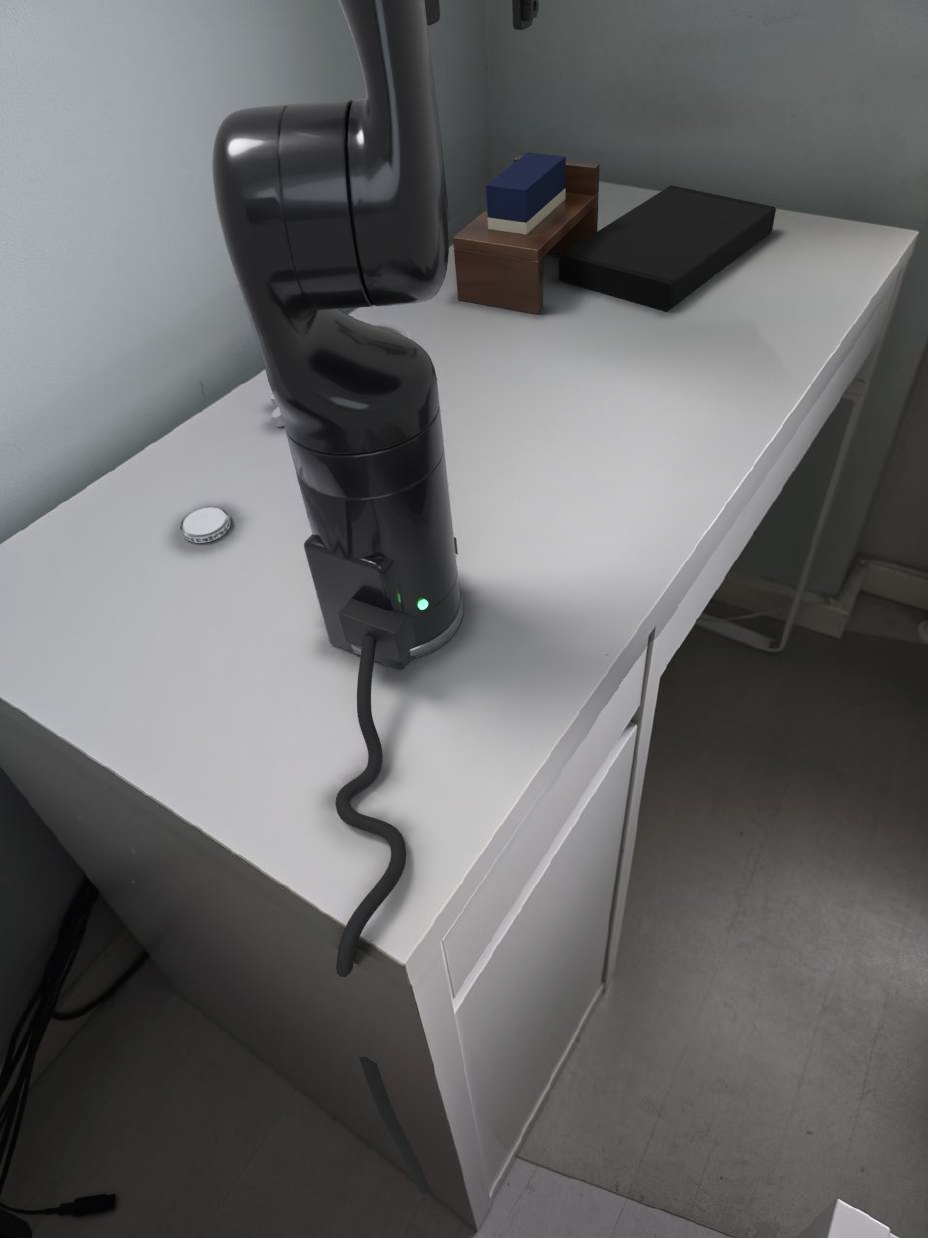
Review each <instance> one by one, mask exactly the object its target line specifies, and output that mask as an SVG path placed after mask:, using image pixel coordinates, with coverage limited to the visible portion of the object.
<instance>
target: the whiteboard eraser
mask: <svg viewBox="0 0 928 1238" xmlns="http://www.w3.org/2000/svg"><path fill="white" fill-rule="evenodd" d="M522 156H523V157H521V158H520V159H519V160H518V161H516V162H515V163H514V162H513V163H512V164H511V165H510V166H508V167H506V169H504V170H503V171H502V172H501V173H500V174H498V175H497V176H496V177H495V178H493V179H492V180H491V181H489V182H488V183H487V184H486V185H485V195H486V197H485V198H486V210H487V216H488V229H491V230H498V231H505V232H512V233H519V234H526V235H527V234H528V233H529V232H530V231H531V230H532V229H533V228H534V227H536V226H537V225H538V224H539V223H540V222H541V221H542V220H543V219H544V218H545V217H547V216H548V215H549V214H550V213H551V212H552V211H553V210H554V209H555V208H556V207H558V206H559V205H560V204H561V203H562V202H563V201H564V200H565V195H566V189H565V181H566V159H567V156H565V155H555V154H545V153H539V152H538V153H536V152H526V153H525V154H524V155H522Z"/></svg>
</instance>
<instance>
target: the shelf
mask: <svg viewBox="0 0 928 1238" xmlns="http://www.w3.org/2000/svg"><path fill="white" fill-rule="evenodd" d="M523 156H524V155H519V154H518V155H516V156H515V157H514V158H513V164H514V163H515V162H516V161H518V160H519V159H520V158H521V157H523ZM600 166H601V164H600V163H595V162H594V163H593V162H584V161H576V160H566V181H565V189H566V195H565V200H564V201H563V202H562V203H561V204H560V205H559V206H558V207H556V208H555V209H554V210H553V211H552V212H551V213H550V214H549V215H548V216H547V217H545V218H544V219H543V220H542V221H541V222H540V223H539V224H538V225H537V226H536V227H534V228H533V229H532V230H531V231H530V232H529V233H528V234H527V235H526V234H519V233H512V232H505V231H498V230H491V229H488V216H487V209H486V210H485V211H483V212H482V213H481V214H479V215H478V216H477V217H476V218H475V219H473V220H472V221H470V223H468V224H467V225H466V226H465V227H464V228H462V229H461V230H460V231H459V232H457V233H456V234H454V235H453V237H452V242H453V243H452V244H453V254H454V266H455V278H456V279H455V280H456V289H457V292H456V293H457V300H458V301H463V302H468V303H473V304H479V305H483V306H489V307H494V308H501V309H506V310H510V311H511V310H512V311H517V312H521V313H528V314H533V315H540V314H541V313H542V312H543V311H544V258H543V257H545V255H546V254H547V253H549V252H550V253H557V254H563V253H564V252H566V251H567V250H569V249H571V248H572V247H574V246H575V245H577V244H578V243H580V242H582V241H583V240H585V239H586V238H588V237H590V236H591V235H593V234H594V233H596V232H598V228H599V227H598V224H599V193H600Z"/></svg>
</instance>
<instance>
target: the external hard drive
mask: <svg viewBox="0 0 928 1238" xmlns="http://www.w3.org/2000/svg"><path fill="white" fill-rule="evenodd" d="M776 213H777V208H776V206H773V205H767V204H763V203H758V202H753V201H749V200H743V199H740V198H739V199H738V198H734V197H729V196H725V195H719V194H714V193H710V192H706V191H701V190H695V189H691V188H686V187H682V186H676V185H671V184H670V185H669V186H667V187H666V188H664V189H662V190H661V191H659V192H658V193H656V194H655V195H652V196H651V197H650V198H648V199H647V200H645V201H644V202H641V204H639V205H637V206H635V207H633V208H632V209H631V210H629V211H627V212H626V213H625V214H623V215H622V216H620V217H618V218H617V219H615V220H613V221H612V222H610V223H608V224H607V225H605V226H604V227H602V228H601V229H599V230H597V232H596V233H594V234H593V235H591V236H590V237H588V238H586V239H585V240H583V241H582V242H580V243H578V244H577V245H575V246H574V247H572V248H571V249H569V250H567V251H566V252H564V253H563V254H562V253H560V254H559V255H558V280H559V281H560V282H563V283H564V284H565V283H566V284H568V285H569V284H570V285H573V286H576V287H579V288H583V289H586V290H590V291H594V292H597V293H600V294H603V295H607V296H611V297H614V298H618V299H620V300H624V301H627V302H631V303H635V304H637V305H641V306H645V307H649V308H652V309H655V310H659V311H663V312H666V313H667V312H669V311H670V310H672V309H673V308H674V307H675V306H677V305H678V304H679V303H681V302H682V301H683V300H685V299H686V298H688V297H689V296H690V295H692V293H694V292H695V291H696V290H698V289H699V288H700V287H702V286H703V285H704V284H706V283H707V282H708V281H709V280H710V279H712V278H713V277H715V276H716V275H717V274H718V273H720V272H721V271H723V270H724V269H725V268H726V267H728V266H729V265H730V264H732V263H733V262H735V261H736V260H737V259H738V258H740V257H741V256H742V255H744V254H745V253H746V252H748V251H749V250H750V249H752V248H753V247H754V246H755V245H757V244H758V243H759V242H760V241H762V240H763V239H765V238H766V237H767V236H768V235H770V234H771V233H772V232H773V228H774V223H775V217H776Z"/></svg>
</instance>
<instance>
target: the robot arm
mask: <svg viewBox="0 0 928 1238" xmlns="http://www.w3.org/2000/svg"><path fill="white" fill-rule="evenodd" d="M337 2H338V5H339V6H340V8H341V11H342V13H343V16H344V18H345V21H346V23H347V26H348V29H349V32H350V35H351V37H352V38H351V39H352V41H353V44H354V48H355V50H356V53H357V57H358V60H359V64H360V68H361V74H362V78H363V81H364V88H365V89H364V90H365V97H362V98H355V99H341V100H329V101H328V100H326V101H316V102H302V103H288V104H287V103H286V104H277V105H265V106H255V107H248V108H247V107H246V108H242V109H238V110H235V111H233V112H232V113H230V114H228V115H227V116H226V117H225V118H224V119H223V121H222V122H221V123H220V125H219V126H218V128H217V132H216V134H215V137H214V141H213V150H212V159H211V172H212V184H213V195H214V202H215V205H216V211H217V215H218V221H219V224H220V229H221V233H222V237H223V240H224V244H225V247H226V250H227V254H228V257H229V260H230V264H231V267H232V270H233V273H234V276H235V280H236V282H237V285H238V286H237V287H238V288H239V293H240V294H241V298H242V301H243V303H244V307H245V309H246V312H247V316H248V318H249V321H250V324H251V327H252V330H253V331H252V332H253V333H254V337H255V340H256V343H257V347H258V350H259V353H260V356H261V360H262V363H263V367H264V370H265V373H266V377H267V381H268V384H269V387H270V390H271V394H272V393H273V396H274V398H275V400H276V402H277V405H278V407H279V409H280V413H281V417H282V421H283V425H284V426H283V428H284V432H285V435H286V440H287V443H288V446H289V450H290V454H291V458H292V461H293V465H294V466H293V467H294V470H295V474H296V478H297V481H298V486H299V490H300V494H301V497H302V501H303V505H304V508H305V511H306V516H307V520H308V524H309V528H310V532H311V534H310V536H309V537H308V538H307V539H306V540H305V541H304V542H303V549H304V553H305V556H306V560H307V564H308V568H309V573H310V575H311V578H312V582H313V585H314V589H315V593H316V597H317V600H318V604H319V608H320V612H321V615H322V619H323V623H324V626H325V630H326V634H327V637H328V641H329V644H330V645H332V646H335V647H338V648H341V649H343V650H346V651H348V652H351V653H353V654H356V655H358V656H359V666H358V673H357V682H356V683H357V684H356V687H357V688H356V713H357V714H356V715H357V720H358V725H359V728H360V731H361V734H362V736H363V737H362V738H363V739H364V742H365V746H366V749H367V757H368V759H367V765H366V768H365V770H363V771H362V773H360V774H359V775H358V776H357V777H355V778H354V779H352V780H350V781H349V782H347V783H346V784H344V785H343V786H342V788H340V790H339V791H338V792H337V794H336V797H335V810H336V813H337V815H338V817H339V818H340V820H341V821H342V822H344V823H345V824H346V825H347V826H350V827H352V828H355V829H357V830H359V831H363V832H366V833H370V834H372V835H375V836H378V837H380V838H382V839H383V840H385V841H386V842H387V843H388V846H389V848H390V859H389V862H388V866H387V867H386V869H385V872H384V873H383V875H382V876H381V877H380V879H379V880H378V881H377V883H376V884H375V885H374V886H373V887H372V889H371V890H370V891H369V892H368V893H367V894H366V895H365V897H364V898H363V899H362V901H361V902H360V903H359V905H358V906H357V907H356V909H355V910H354V911H353V913H352V915H350V918H349V919H348V921H347V923H346V925H345V928H344V930H343V931H342V934H341V938H340V941H339V945H338V951H337V956H336V963H335V964H336V966H335V968H336V974H337V975H338V976H339V977H340V978H346V977H348V976H349V975H350V974H351V972H352V970H353V968H354V962H355V956H356V950H357V946H358V942H359V940H360V937H361V935H362V933H363V931H364V929H365V927H366V925H367V924H368V922H369V921H370V919H371V918H372V916H373V915H374V914H375V913H376V911H377V910H378V909H379V907H381V905H382V904H383V902H384V901H385V900H386V899H387V898H388V897H389V895H390V894H391V893H392V892H393V890H394V889H395V887H396V886H397V884H398V883H399V882H400V879H401V877H402V876H403V873H404V870H405V868H406V861H407V847H406V841H405V839H404V836H403V834H402V833H401V831H400V830H398V828H397V827H395V826H394V825H392V824H390V823H388V822H386V821H385V820H383V819H382V820H381V819H378V818H375V817H372V816H369V815H366V814H363V813H360V812H359V811H356V810H355V809H354V808H353V807H352V806H351V802H352V799H354V798H355V796H357V795H358V794H360V793H361V792H363V791H364V790H365V789H367V788H369V787H370V786H371V785H373V783H374V782H375V781H376V780H377V778H378V777H379V775H380V773H381V770H382V767H383V760H384V755H383V754H384V753H383V746H382V743H381V739H380V736H379V733H378V730H377V728H376V725H375V722H374V718H373V711H372V710H373V709H372V685H373V684H372V683H373V673H374V663H375V662H378V663H379V664H383V665H385V666H388V667H390V668H393V669H396V670H399V671H400V670H403V669H405V668H406V666H407V665H408V664H409V663H410V662H411V660H414V659H418V658H421V657H423V656H426V655H429V654H431V653H432V652H435V651H436V650H438V649H439V648H441V647H442V646H443V645H445V644H446V643H447V642H448V641H449V640H450V639H451V638H452V637H454V634H455V633H457V630H458V629H459V627H460V625H461V622H462V620H463V615H464V603H463V595H462V591H461V588H460V580H459V572H458V570H459V569H458V563H457V556H458V555H459V553H458V542H457V537H455V535H454V526H453V519H452V518H453V517H452V516H453V515H452V508H451V499H450V498H451V497H450V489H449V482H448V481H449V480H448V479H449V478H448V471H447V462H446V452H445V444H444V443H445V442H444V441H445V440H444V432H443V424H442V415H441V405H440V395H439V386H438V385H439V384H438V377H437V372H436V368H435V365H434V363H433V360H432V359H431V357H430V355H429V353H428V352H427V351H426V350H425V348H423V346H421V345H420V344H418V343H417V342H416V341H414V340H413V339H411V338H409V337H407V336H406V335H404V334H400V333H398V332H395V331H392V330H389V329H386V328H382V327H379V326H376V325H374V324H370V323H368V322H364V321H362V320H360V319H357V318H355V317H353V316H351V315H349V314H347V313H346V312H344V311H342V309H356V308H357V309H359V308H372V307H390V306H402V305H411V304H412V305H413V304H418V303H423V302H427V301H429V300H432V299H433V298H434V297H436V296H437V295H438V293H439V292H440V291H441V288H442V286H443V284H444V281H445V279H446V275H447V272H448V265H449V255H450V254H449V252H450V221H449V220H450V218H449V202H448V193H447V181H446V173H445V162H444V152H443V145H442V144H443V143H442V137H441V128H440V127H441V126H440V119H439V111H438V103H437V101H438V100H437V95H436V87H435V77H434V69H433V61H432V60H433V59H432V54H431V52H432V51H431V43H430V37H429V27H428V26H432V25H434V24H436V23H438V22H440V20H441V19H440V18H441V8H440V7H441V6H440V0H337ZM539 3H540V1H539V0H511V4H512V5H511V7H512V8H511V9H512V28H513V30H515V31H516V30H517V31H525V30H526V29H528V28H529V27H531V26H532V25H533V21H534V19H535V18H537V16H538V14H539V10H540V6H539V5H540V4H539ZM358 1058H359V1062H360V1064H361V1068H362V1071H363V1075H364V1077H365V1080H366V1084H367V1087H368V1089H369V1091H370V1094H371V1097H372V1099H373V1102H374V1104H375V1106H376V1109H377V1112H378V1113H379V1115H380V1118H381V1120H382V1122H383V1124H384V1127H385V1128H386V1130H387V1132H388V1134H389V1136H390V1138H391V1139H392V1141H393V1144H394V1145H395V1147H396V1149H397V1150H398V1152H399V1154H400V1155H401V1158H402V1159H403V1161H404V1163H405V1165H406V1166H407V1168H408V1171H409V1173H410V1174H411V1176H412V1178H413V1181H414V1182H415V1184H416V1185H415V1186H416V1187H417V1189H418V1191H419V1193H420V1194H421V1195H426V1194H428V1193H429V1191H430V1185H429V1182H428V1180H427V1177H426V1174H425V1172H424V1170H423V1168H422V1165H421V1164H420V1161H419V1159H418V1157H417V1155H416V1153H415V1152H414V1149H413V1147H412V1145H411V1143H410V1140H409V1139H408V1138H407V1137H408V1136H407V1135H406V1134H405V1131H404V1129H403V1127H402V1125H401V1123H400V1121H399V1119H398V1117H397V1114H396V1112H395V1110H394V1108H393V1105H392V1103H391V1100H390V1098H389V1095H388V1092H387V1090H386V1087H385V1084H384V1081H383V1077H382V1075H381V1071H380V1069H379V1065H378V1063H377V1062H375V1061H373V1060H372V1059H370V1058H368V1057H366V1056H358Z"/></svg>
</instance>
